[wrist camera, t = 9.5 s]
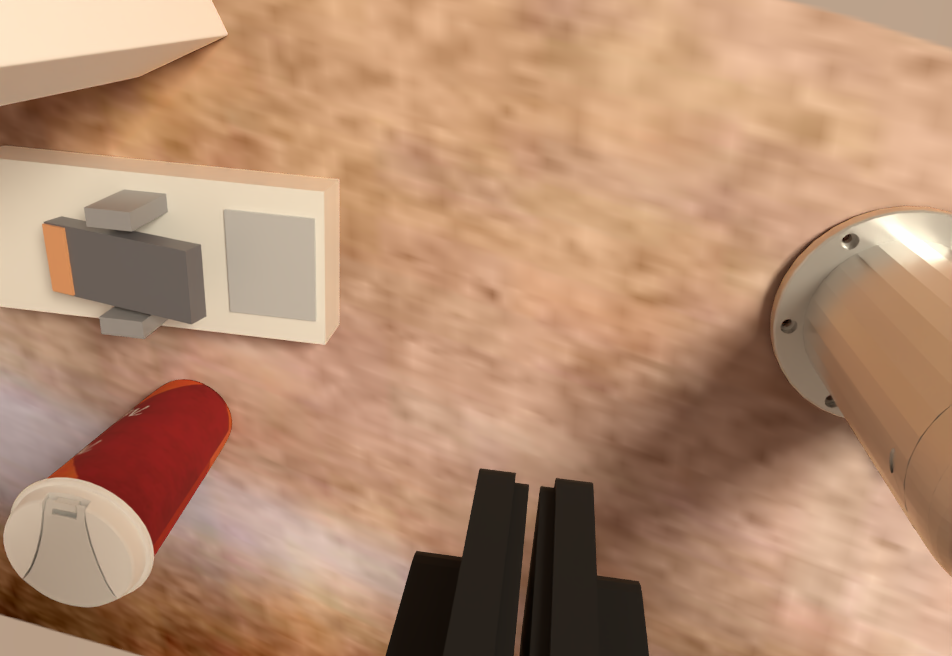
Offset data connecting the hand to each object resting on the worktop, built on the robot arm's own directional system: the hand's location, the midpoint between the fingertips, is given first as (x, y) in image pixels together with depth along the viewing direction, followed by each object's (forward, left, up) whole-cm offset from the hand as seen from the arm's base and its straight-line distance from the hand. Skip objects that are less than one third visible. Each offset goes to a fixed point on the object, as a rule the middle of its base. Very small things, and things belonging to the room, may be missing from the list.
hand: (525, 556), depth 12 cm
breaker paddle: (+8, +22, -27) cm, 36 cm away
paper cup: (-2, +30, -33) cm, 45 cm away
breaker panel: (+8, +22, -33) cm, 41 cm away
